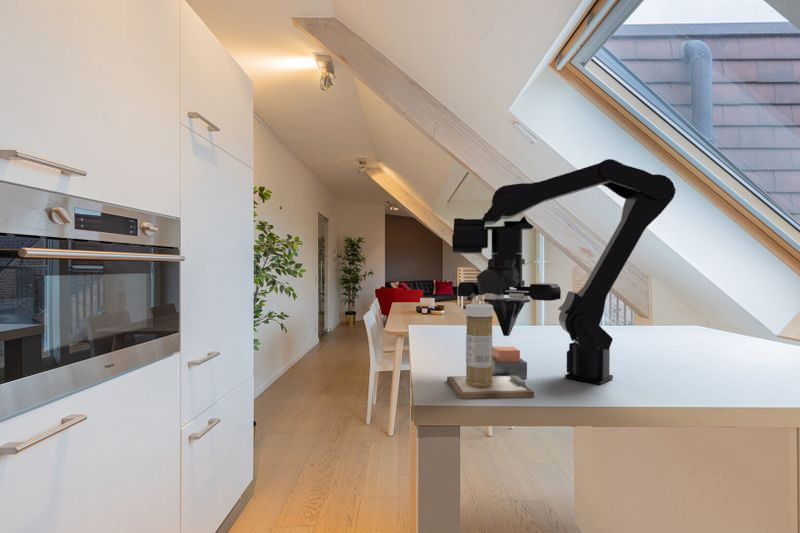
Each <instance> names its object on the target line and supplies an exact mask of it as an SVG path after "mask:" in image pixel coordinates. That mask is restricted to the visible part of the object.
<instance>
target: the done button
mask: <svg viewBox="0 0 800 533" xmlns="http://www.w3.org/2000/svg"><path fill="white" fill-rule="evenodd" d="M520 358H521V351H520V349H519V348H516V347H515V346H512V345H511V346H493V359H494V360H495V361H497V362H520Z"/></svg>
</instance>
